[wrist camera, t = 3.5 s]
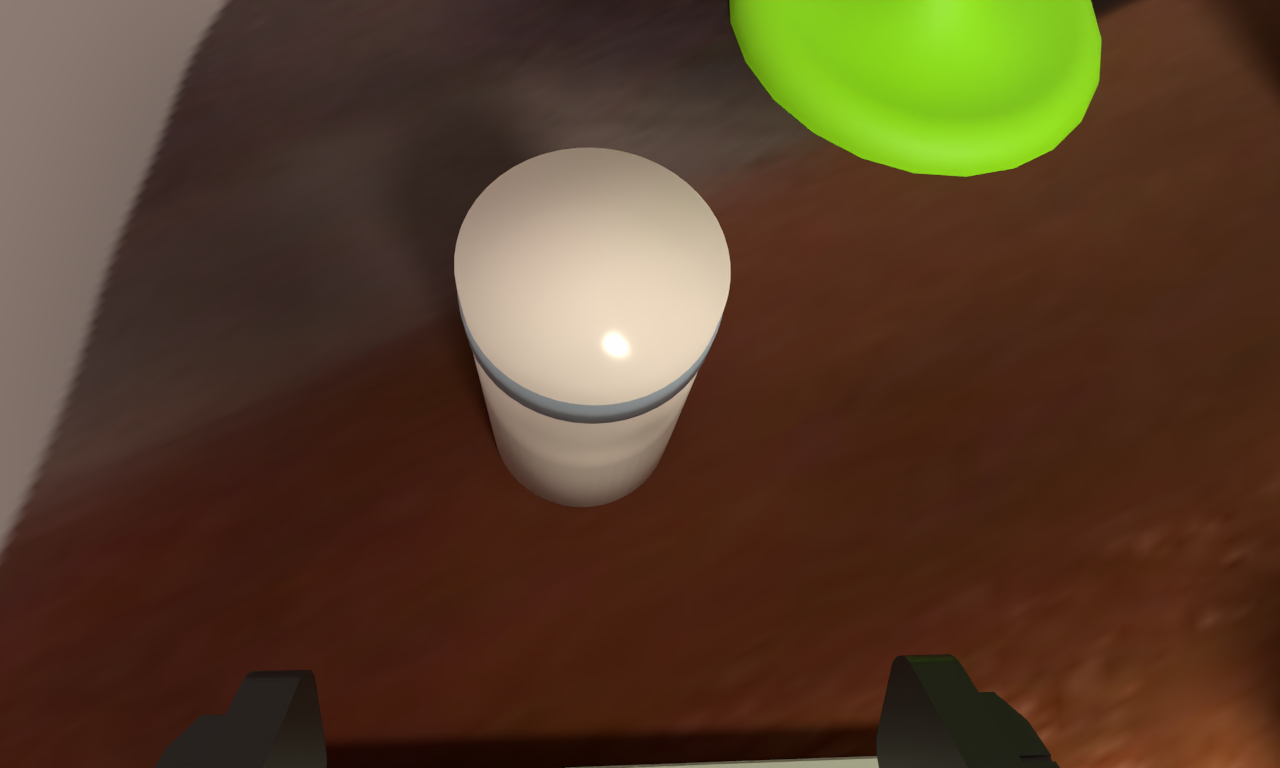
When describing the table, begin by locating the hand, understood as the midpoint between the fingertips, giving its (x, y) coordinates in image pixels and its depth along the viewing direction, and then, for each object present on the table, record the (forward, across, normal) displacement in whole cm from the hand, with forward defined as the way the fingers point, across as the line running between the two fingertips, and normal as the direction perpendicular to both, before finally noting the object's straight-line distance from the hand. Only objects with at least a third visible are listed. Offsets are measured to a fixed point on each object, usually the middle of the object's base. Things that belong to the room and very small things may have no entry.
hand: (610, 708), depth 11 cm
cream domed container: (+14, 0, +3) cm, 15 cm away
